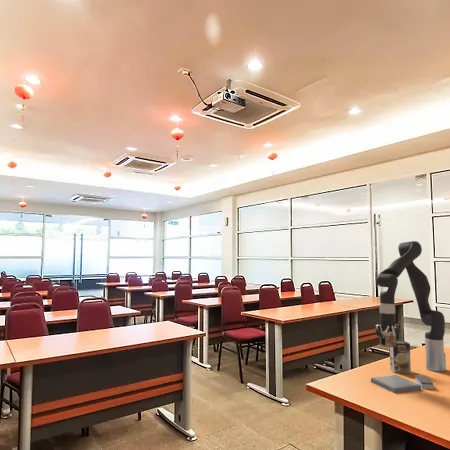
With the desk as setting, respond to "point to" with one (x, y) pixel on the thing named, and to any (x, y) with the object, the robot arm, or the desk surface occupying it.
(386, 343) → the walnut cube
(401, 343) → the coffee box
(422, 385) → the felt board eraser
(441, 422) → the desk surface
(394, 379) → the slate platform
